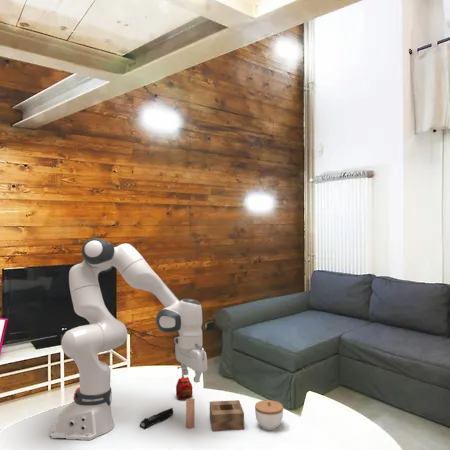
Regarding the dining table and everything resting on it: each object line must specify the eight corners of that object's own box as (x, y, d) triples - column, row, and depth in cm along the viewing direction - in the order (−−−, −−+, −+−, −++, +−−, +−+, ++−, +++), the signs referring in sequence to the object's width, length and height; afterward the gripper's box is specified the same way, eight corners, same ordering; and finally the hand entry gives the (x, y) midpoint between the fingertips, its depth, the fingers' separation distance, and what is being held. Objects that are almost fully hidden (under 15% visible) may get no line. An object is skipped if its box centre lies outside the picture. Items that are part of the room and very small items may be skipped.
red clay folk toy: (179, 402, 171) (180, 367, 172) (172, 396, 177) (173, 363, 178) (195, 398, 175) (195, 364, 176) (187, 393, 181) (187, 360, 182)
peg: (186, 428, 147) (186, 401, 147) (185, 424, 150) (186, 398, 150) (194, 428, 147) (194, 401, 148) (194, 424, 150) (194, 398, 151)
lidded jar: (251, 421, 153) (251, 397, 153) (276, 418, 156) (276, 394, 156) (260, 434, 143) (260, 408, 143) (287, 431, 146) (287, 405, 146)
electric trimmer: (175, 416, 158) (175, 408, 158) (144, 430, 146) (145, 421, 146) (169, 414, 160) (169, 406, 161) (138, 427, 149) (138, 418, 149)
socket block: (212, 431, 145) (212, 414, 145) (209, 416, 157) (209, 401, 157) (243, 429, 147) (244, 413, 147) (239, 415, 158) (239, 400, 159)
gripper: (211, 346, 143) (211, 384, 142) (186, 335, 160) (186, 369, 160) (196, 349, 140) (196, 388, 139) (172, 337, 157) (172, 372, 156)
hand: (190, 378), depth 149 cm, fingers open, 8 cm apart
